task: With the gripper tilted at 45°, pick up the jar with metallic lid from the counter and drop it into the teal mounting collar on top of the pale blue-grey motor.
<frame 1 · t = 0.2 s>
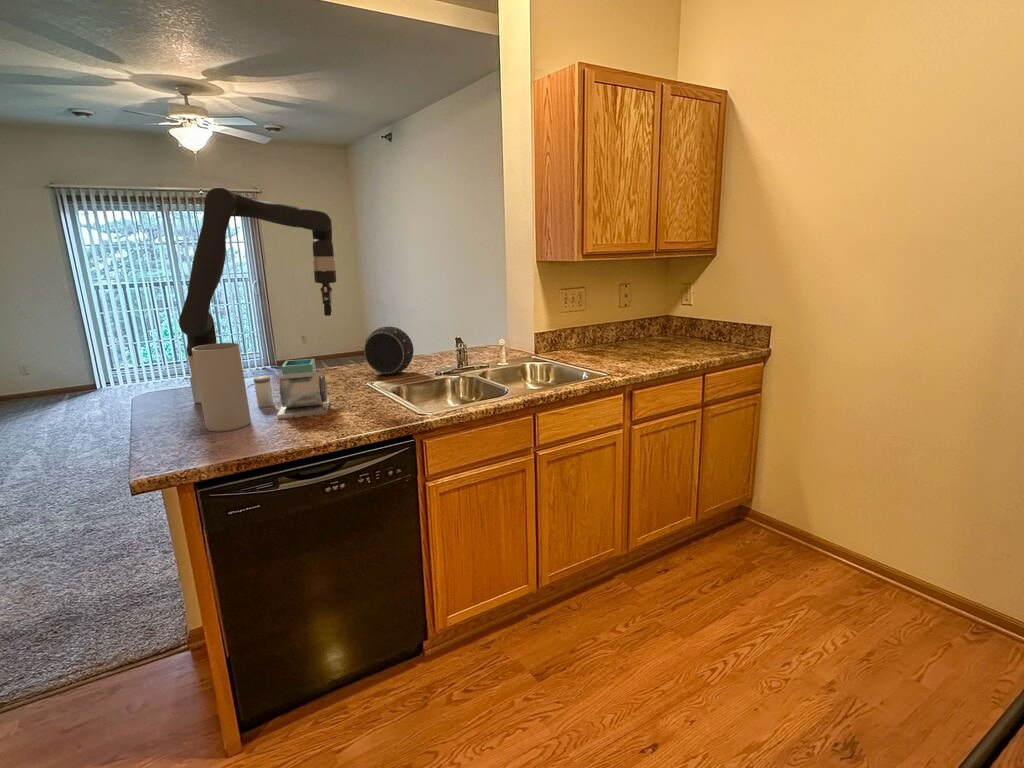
hand: (328, 314, 200), 29 cm above the worktop, tool pointing down, fingers open, 8 cm apart
motor: (304, 410, 182), on the worktop
jar with metallic lid: (265, 405, 189), on the worktop
cylinder vase: (229, 426, 169), on the worktop
black wheel: (391, 374, 229), on the worktop
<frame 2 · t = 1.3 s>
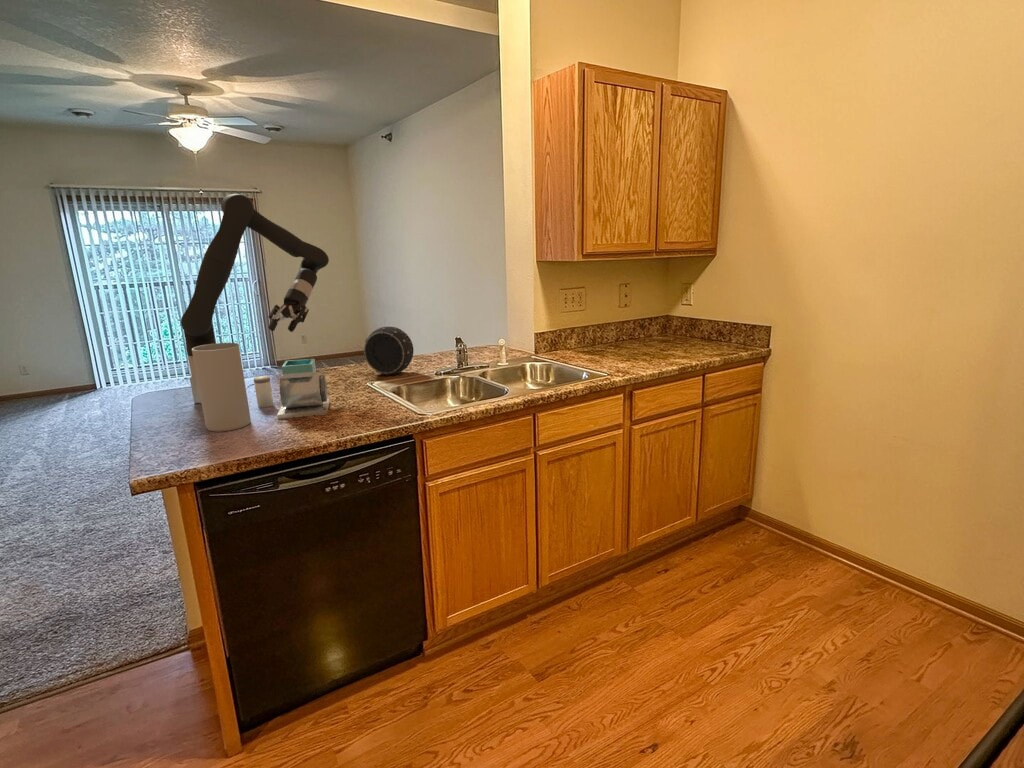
hand: (280, 330, 193), 25 cm above the worktop, tool tilted 45°, fingers open, 8 cm apart
nothing on the worktop moved.
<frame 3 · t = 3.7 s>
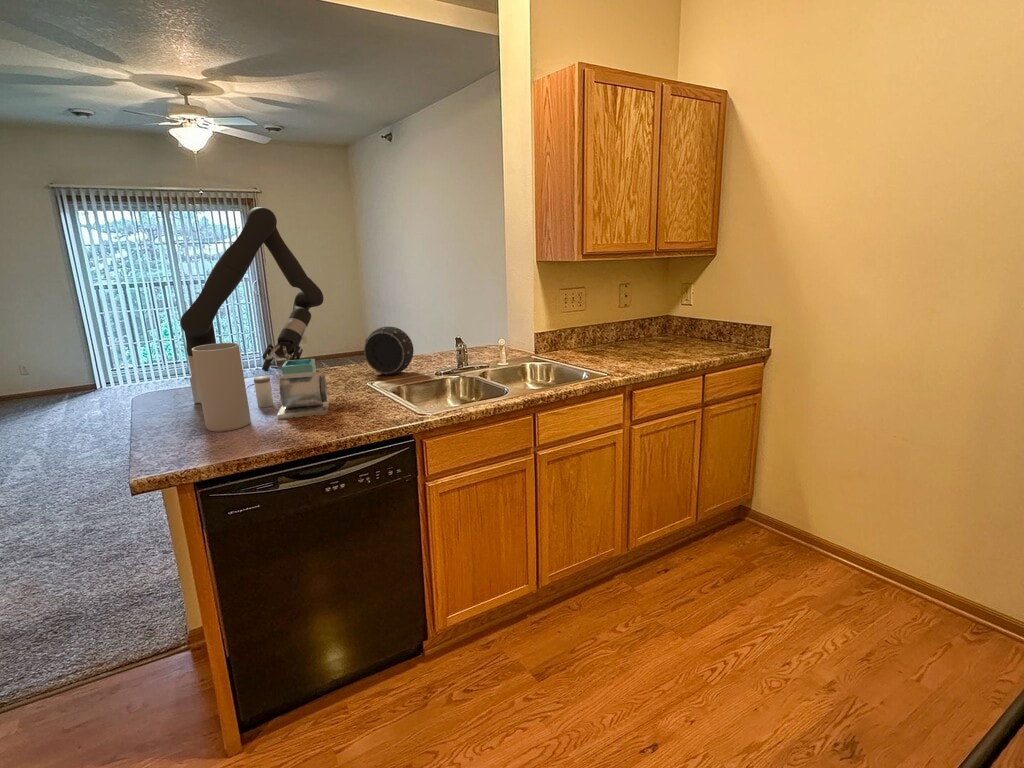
hand: (274, 371, 192), 11 cm above the worktop, tool tilted 45°, fingers open, 8 cm apart
nothing on the worktop moved.
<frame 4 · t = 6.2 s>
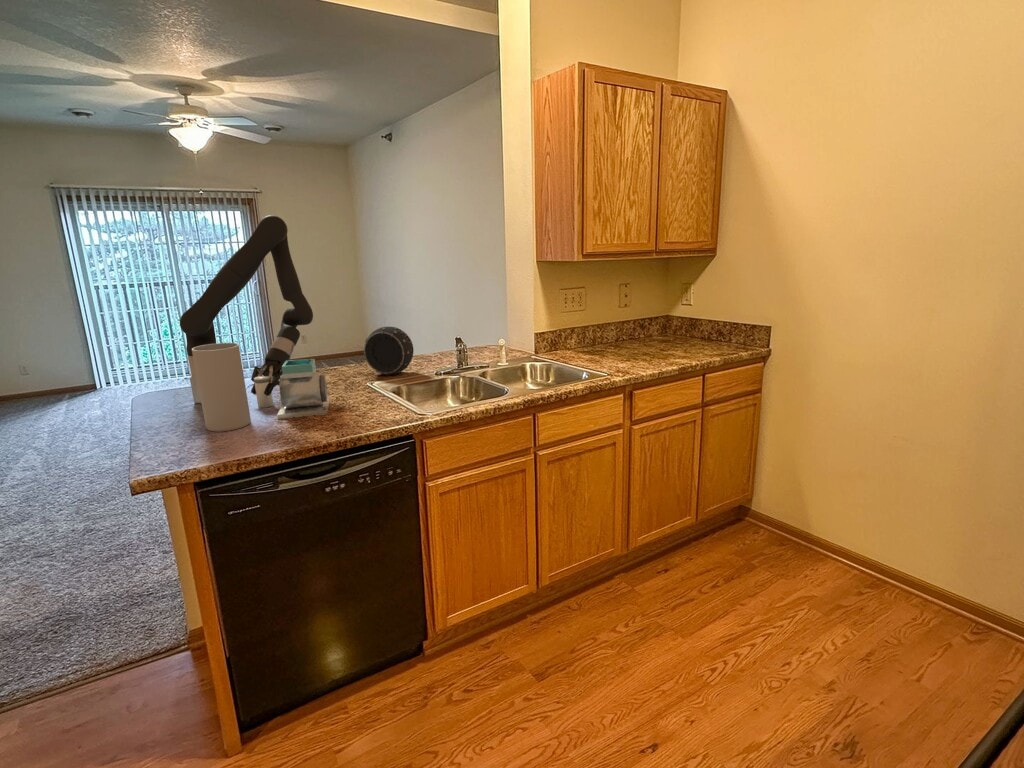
hand: (259, 393, 186), 5 cm above the worktop, tool tilted 45°, fingers closed on jar with metallic lid, 5 cm apart
jar with metallic lid: (265, 405, 189), on the worktop, touching gripper
everything else where it was.
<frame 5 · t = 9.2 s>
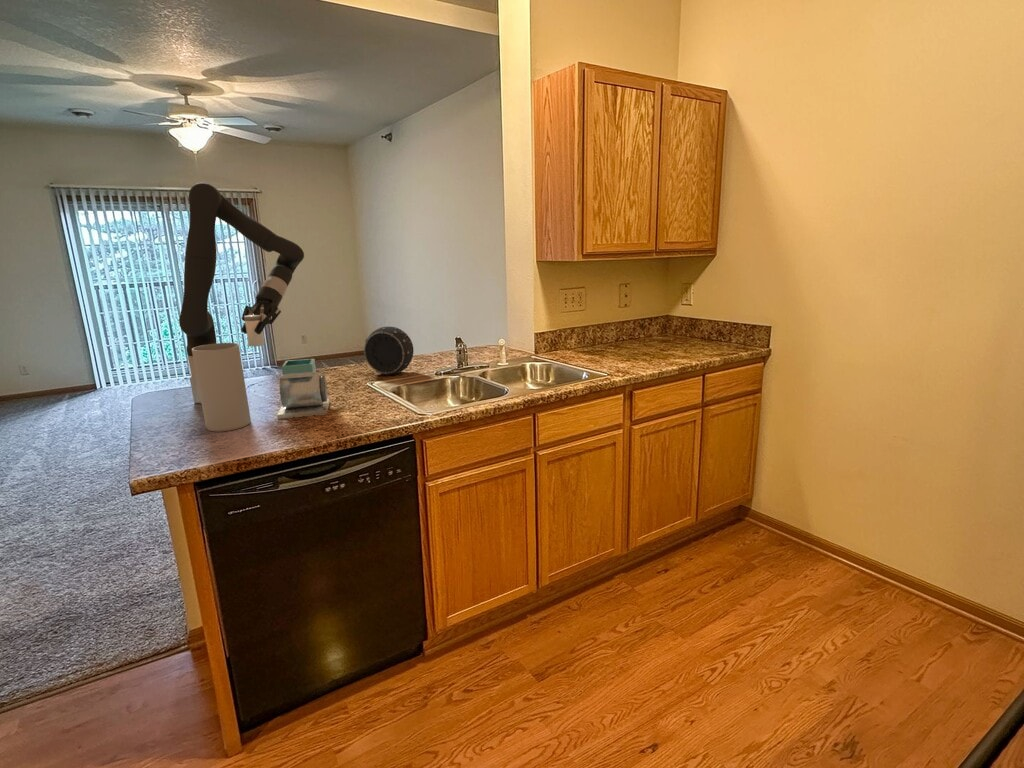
hand: (250, 332, 181), 26 cm above the worktop, tool tilted 45°, fingers closed on jar with metallic lid, 5 cm apart
jar with metallic lid: (256, 345, 184), point 21 cm above the worktop, touching gripper
everything else where it was.
when the fingers open (20 cm above the worktop, at t = 12.7 s): jar with metallic lid stays where it is, resting on motor.
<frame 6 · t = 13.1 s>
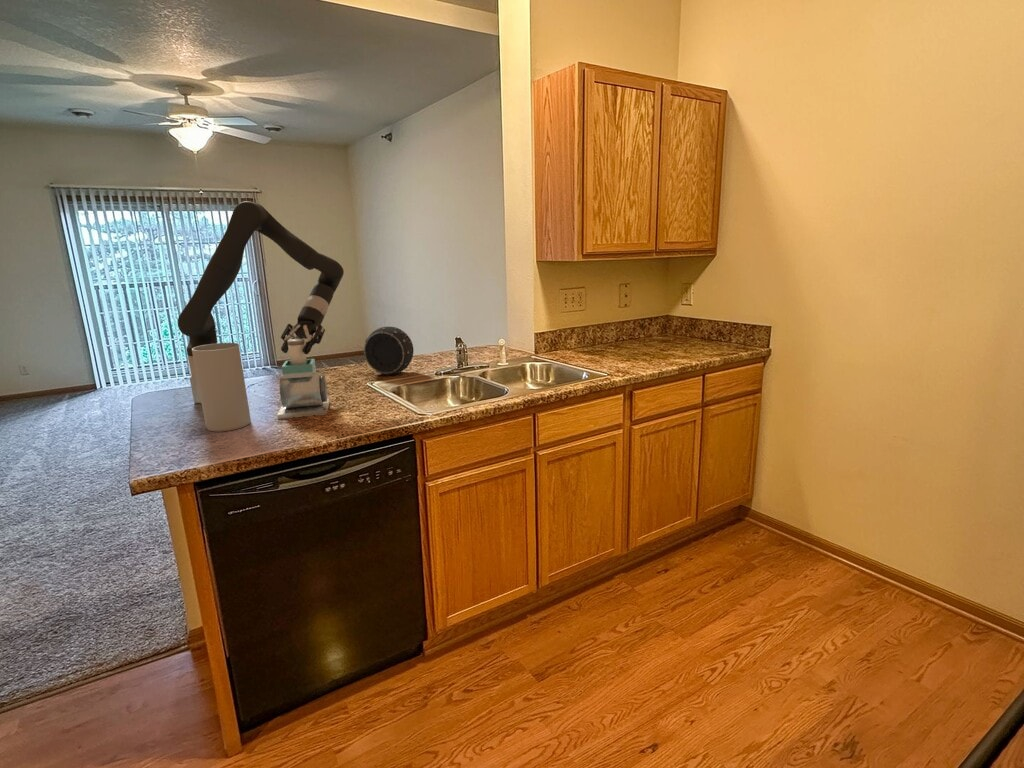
hand: (294, 352, 176), 20 cm above the worktop, tool tilted 45°, fingers open, 8 cm apart
jar with metallic lid: (299, 369, 179), point 14 cm above the worktop, touching motor
everything else where it was.
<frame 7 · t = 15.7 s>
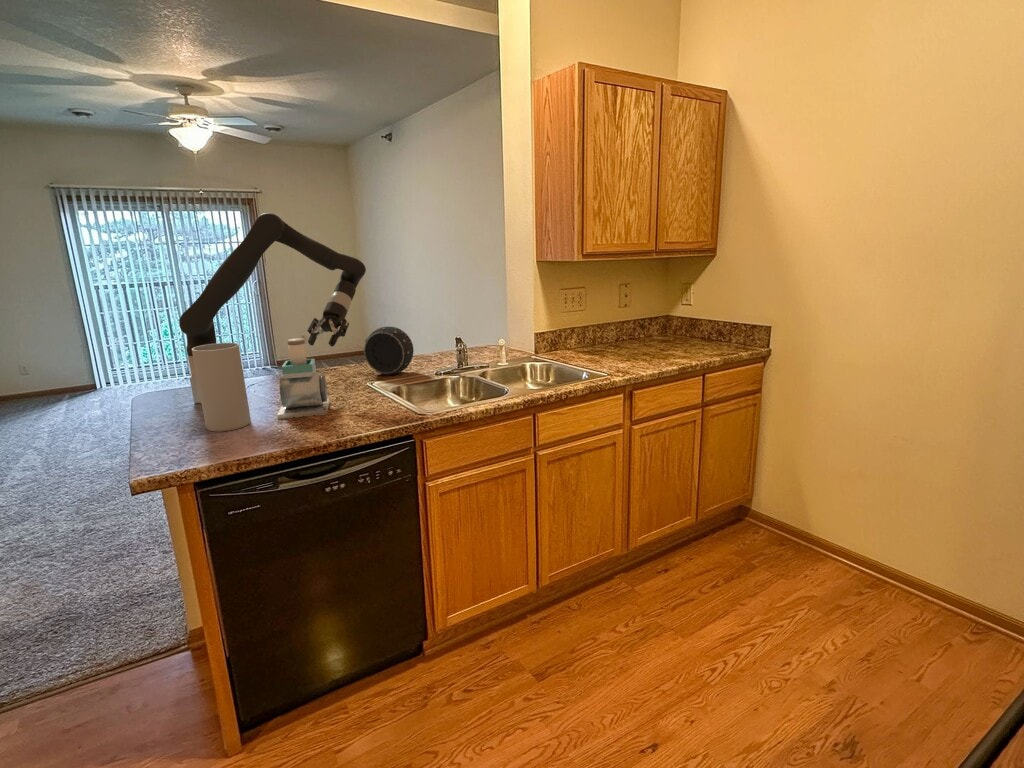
hand: (320, 344, 187), 20 cm above the worktop, tool tilted 45°, fingers open, 8 cm apart
nothing on the worktop moved.
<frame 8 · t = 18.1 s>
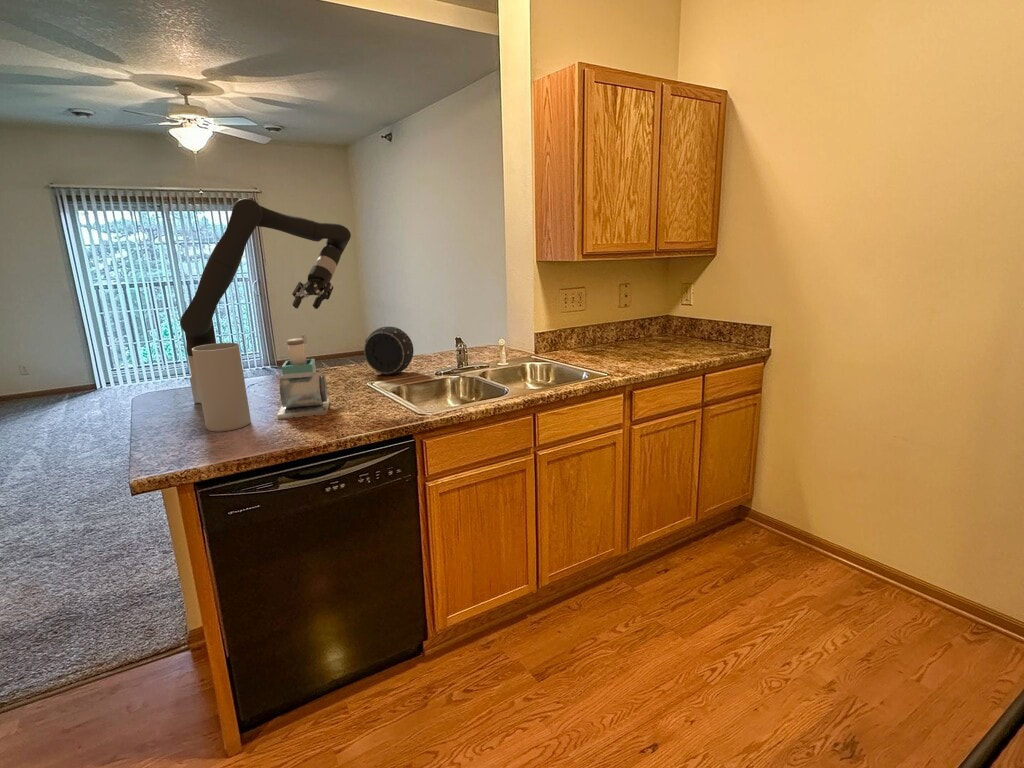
hand: (304, 307, 189), 33 cm above the worktop, tool tilted 45°, fingers open, 8 cm apart
nothing on the worktop moved.
at the end: jar with metallic lid 0.1 cm off-centre on the motor, point 14.1 cm above the motor's base; jar with metallic lid tilted 2°; the gripper is holding nothing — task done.
